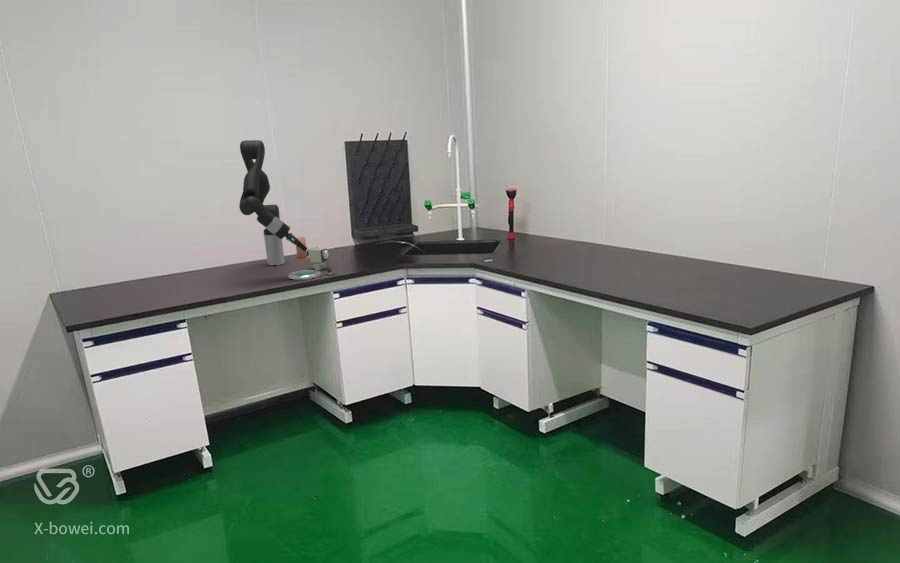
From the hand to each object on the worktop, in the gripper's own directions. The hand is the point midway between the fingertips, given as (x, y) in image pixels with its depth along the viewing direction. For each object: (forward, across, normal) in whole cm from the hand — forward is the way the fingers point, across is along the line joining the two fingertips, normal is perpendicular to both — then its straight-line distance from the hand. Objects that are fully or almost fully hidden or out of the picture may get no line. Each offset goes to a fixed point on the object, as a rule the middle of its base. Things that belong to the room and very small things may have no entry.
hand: (305, 248), depth 287 cm
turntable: (+9, 0, +11) cm, 14 cm away
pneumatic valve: (+16, +12, +4) cm, 20 cm away
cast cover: (+2, 0, +5) cm, 6 cm away
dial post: (+17, -3, +2) cm, 18 cm away
